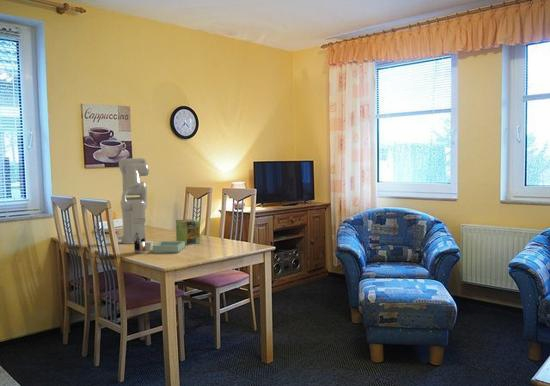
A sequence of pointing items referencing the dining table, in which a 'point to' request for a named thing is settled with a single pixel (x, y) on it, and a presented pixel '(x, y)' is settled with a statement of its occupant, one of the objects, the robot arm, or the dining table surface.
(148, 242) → the grey block
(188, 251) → the dining table surface
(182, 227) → the protein box
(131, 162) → the robot arm
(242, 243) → the dining table surface
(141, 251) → the clear brown jar
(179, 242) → the tote
